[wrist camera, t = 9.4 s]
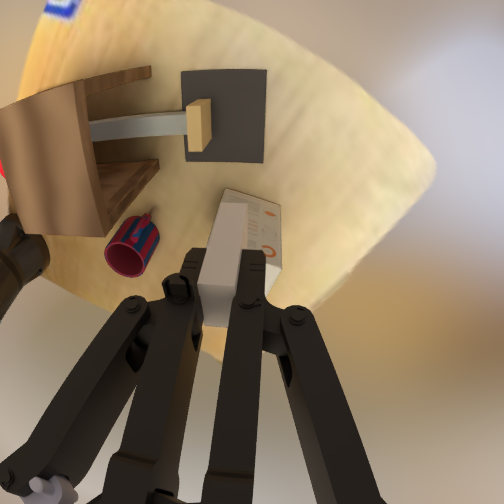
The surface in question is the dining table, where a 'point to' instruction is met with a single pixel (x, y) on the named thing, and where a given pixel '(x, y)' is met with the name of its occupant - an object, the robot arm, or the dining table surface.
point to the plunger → (160, 125)
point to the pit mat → (229, 113)
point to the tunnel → (66, 161)
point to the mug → (132, 246)
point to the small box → (260, 231)
